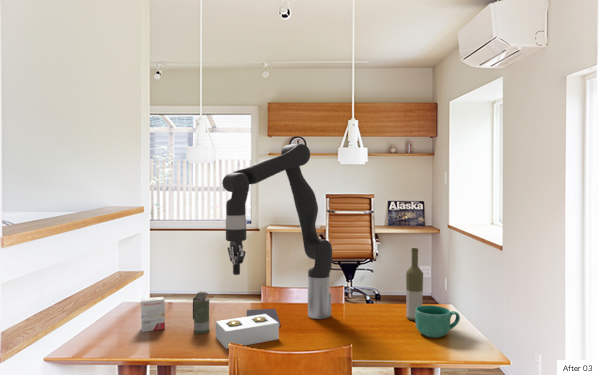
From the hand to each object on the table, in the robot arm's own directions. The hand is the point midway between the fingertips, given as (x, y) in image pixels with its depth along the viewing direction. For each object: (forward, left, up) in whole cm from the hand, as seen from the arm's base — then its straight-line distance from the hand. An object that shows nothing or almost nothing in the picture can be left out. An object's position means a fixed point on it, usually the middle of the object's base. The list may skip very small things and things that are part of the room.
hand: (236, 274), depth 156 cm
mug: (-70, +31, -24) cm, 80 cm away
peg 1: (+1, +2, -23) cm, 23 cm away
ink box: (+25, -24, -24) cm, 42 cm away
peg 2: (-9, +2, -23) cm, 25 cm away
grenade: (+9, -13, -24) cm, 29 cm away
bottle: (-75, +13, -24) cm, 79 cm away
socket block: (-4, +2, -24) cm, 24 cm away
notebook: (-18, -16, -24) cm, 34 cm away
